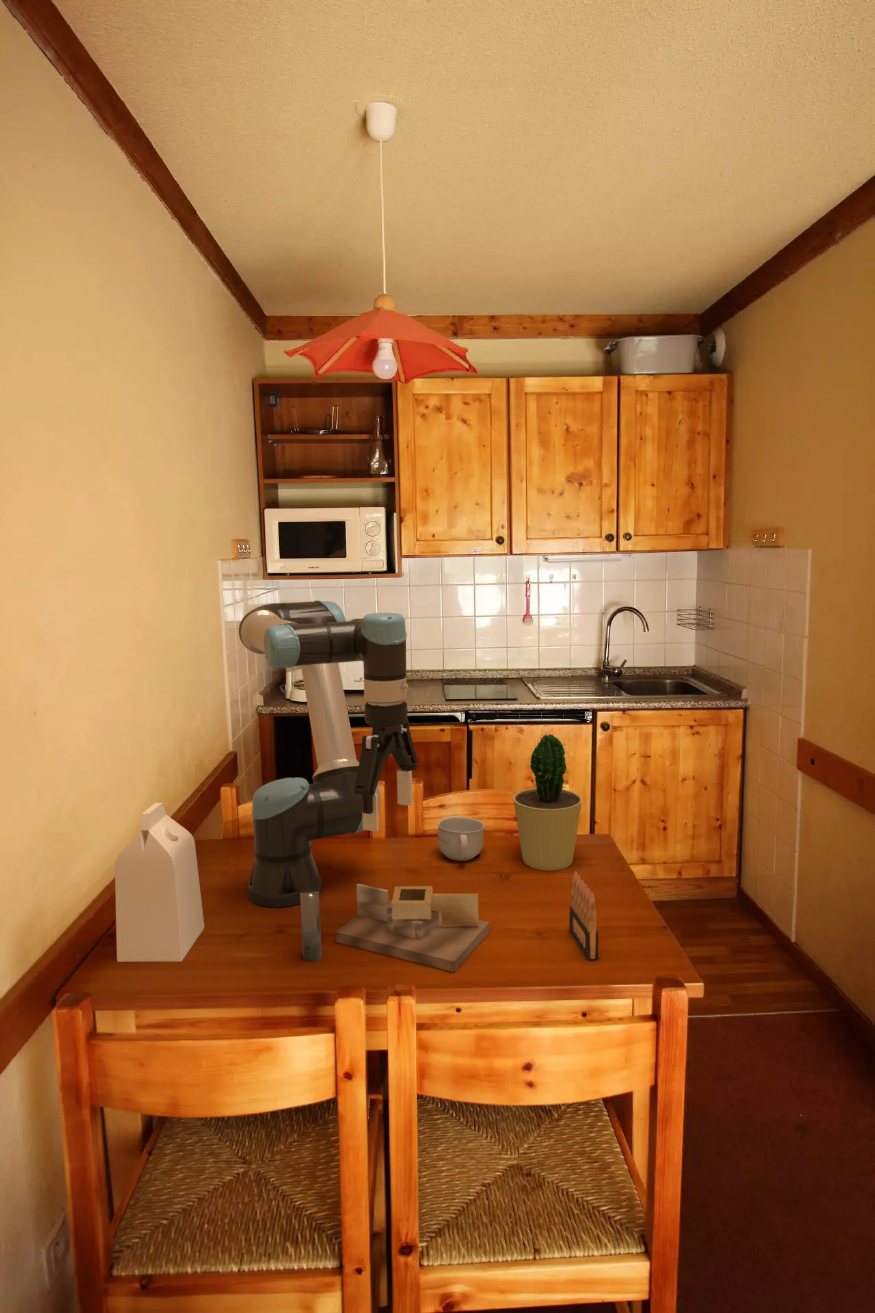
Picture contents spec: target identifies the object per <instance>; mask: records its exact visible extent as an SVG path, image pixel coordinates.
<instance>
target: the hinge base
mask: <svg viewBox="0 0 875 1313" xmlns="http://www.w3.org/2000/svg"><path fill="white" fill-rule="evenodd" d="M389 894H390V893H389V889H385V888H379V887H376V886H370V885H365V884H361V883H358V884H356V902H357V903H356V904H357V905H356V906H357V915H355V916H354V917H353V918H352V919H351V920H349V921H347V923H345V924H344V925H343V926H341V928H339V929H338V930H337V931H336V932H335V933H336V934H335V936H336V943H340V944H343V945H346V946H350V947H353V948H354V947H355V948H357V949H362V950H366V951H370V952H374V953H377V954H381V955H385V956H388V957H393V958H397V959H399V960H400V959H401V960H404V961H408V962H412V963H415V964H419V963H420V964H421V965H423V966H427V967H431V968H434V969H438V968H439V970H444V971H446V970H447V972H450V971H451V973H454V972H455V971H456V972H457V971H458V969H459V968H460V967H461V966H462V964H464V963H465V962H466V961H467V959H468V958H469V956H471V954H472V953H473V952H474V951H475V950H476V948H478V946H479V945H480V944H481V943H482V941H483V940H484V939H485V938H486V937H487V936H488V934H490V921H485V920H481V919H478V924H479V925H442V911H432V915H431V919H392V900H390V895H389ZM460 965H461V966H460ZM456 972H455V973H456Z"/></svg>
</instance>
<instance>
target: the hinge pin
mask: <svg viewBox="0 0 875 1313" xmlns="http://www.w3.org/2000/svg"><path fill="white" fill-rule="evenodd" d="M319 894H320V892H319V891H318V890H317V889H312V888H310V889H305V890H303V891H301V892H300V900H301V903H300V915H301V916H300V918H301V920H300V922H301V939H302V940H301V941H302V958H303V960H304V961H305V962H310V963H311V962H316V961H320V959H321V958H322V954H323V953H322V939H321V938H322V935H321V933H322V932H321V915H320V914H321V912H320V895H319Z"/></svg>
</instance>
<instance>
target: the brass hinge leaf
mask: <svg viewBox="0 0 875 1313" xmlns="http://www.w3.org/2000/svg"><path fill="white" fill-rule="evenodd" d="M391 901H392V919H431V915H432V911H441V912H442V925H479V924H478V920H479V893H433V885H431V886H429V885H423V886H420V885H418V886H417V885H414V886H412V885H410V886H409V885H408V886H406V885H405V886H402V885H400V886H397V885H396V886H394V891H393V895H392V900H391Z"/></svg>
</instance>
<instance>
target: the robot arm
mask: <svg viewBox="0 0 875 1313" xmlns="http://www.w3.org/2000/svg"><path fill="white" fill-rule="evenodd" d="M406 629H407V628H406V619H405V616H404V615H402V614H401V613H397V612H375V613H374V612H373V613H367V614H365V615H364V616H363V617H362V618H352V619H349V620H347V619H346V617H345V613H344V612H343V610H342V608H341V607H340V606H339V605H338V604H337V603H336V602H334V601H329V600H328V601H327V600H325V601H324V600H323V601H321V600H314V601H297V602H295V601H294V602H274V603H268V604H267V603H266V604H264V605H260V606H257V607H255V608H254V609H252V610H249V611H248V612H247V613H245V615H244V616H243V617H242V618H241V621H240V622H239V627H238V636H239V637H238V638H239V640H240V643H241V644H242V645H243V646H244V647H245V648H246V649H247V650H248V651H249V652H253V653H255V654H258V655H264V657H265V660H266V662H267V664H268V666H269V667H270V668H271V667H272V668H285V669H286V668H287V669H288V668H292V667H300V669H301V676H302V681H303V686H304V693H305V698H306V704H307V711H308V715H309V716H308V717H309V722H310V729H311V735H312V741H313V746H314V751H315V757H316V764H317V769H316V771H315V772H314V773H313V775H312V781H313V783H309V782H308V780H307V779H305V778H303V777H298V776H297V777H284V778H280V779H276V780H273V781H270V782H268V783H265V784H263V785H262V786H260V787H259V788H258V789H257V790H256V791H255V792H254V794H253V796H252V801H251V802H252V803H251V804H252V809H251V811H252V812H251V818H252V821H253V822H252V823H253V824H252V826H253V842H254V857H255V858H254V863H253V866H252V869H251V874H250V878H249V881H248V885H247V891H248V898H249V899H250V901H251V902H252V903H254V904H257V905H260V906H262V907H268V908H282V907H285V908H286V907H291V906H296V905H301V900H300V892H301V891H303V890H305V889H310V888H312V889H317V890H318V891H319V893H320V892H321V890H322V876H321V874H320V872H319V871H318V868H317V865H316V862H315V859H314V856H313V853H312V841H315V840H319V839H326V838H331V837H336V836H337V837H338V836H342V835H349V834H352V835H353V834H357V833H358V832H363V831H370V832H371V831H372V832H379V831H380V827H379V826H380V824H379V818H380V817H379V812H380V807H381V806H380V802H381V801H380V799H381V796H380V787H379V781H380V777H381V774H382V771H383V767H384V764H385V761H386V760H388V759H389V757H390V755H392V758H394V760H395V762H396V764H397V765H398V769H397V771H396V786H397V788H396V789H397V805H402V806H409V807H410V806H412V805H413V776H412V775H413V773H412V772H413V771H417V769H418V764H417V763H418V757H417V752H416V748H415V746H414V742H413V739H412V735H411V731H410V720H408V703H407V702H406V700H407V698H408V692H407V690H408V689H409V684H407V631H406ZM352 662H362V664H363V694H364V695H363V698H364V699H363V700H364V701H366V702H365V704H364V721H365V724H367V725H368V726H370V728H372V729H371V735H363V736H362V739H361V752H360V757H359V760H357V755H356V754H357V753H356V750H355V744H354V738H353V734H352V727H351V723H350V718H349V713H348V712H349V711H348V706H347V701H346V697H345V690H344V686H343V679H342V674H341V669H340V664H341V663H352ZM339 663H340V664H339Z"/></svg>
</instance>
